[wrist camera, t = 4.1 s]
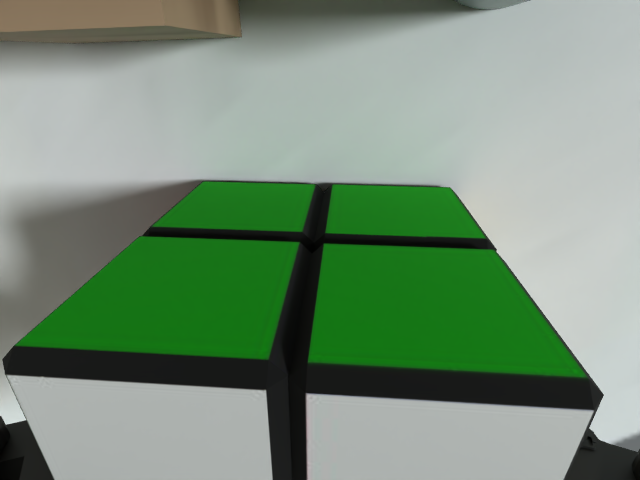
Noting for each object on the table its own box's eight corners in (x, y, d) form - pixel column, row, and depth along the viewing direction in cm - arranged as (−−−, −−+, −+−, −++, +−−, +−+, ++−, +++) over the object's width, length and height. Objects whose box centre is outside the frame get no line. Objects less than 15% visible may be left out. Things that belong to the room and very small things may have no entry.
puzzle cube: (223, 369, 20) (115, 637, 11) (197, 178, 15) (-24, 357, 6) (424, 381, 19) (490, 678, 10) (457, 184, 15) (625, 395, 6)
